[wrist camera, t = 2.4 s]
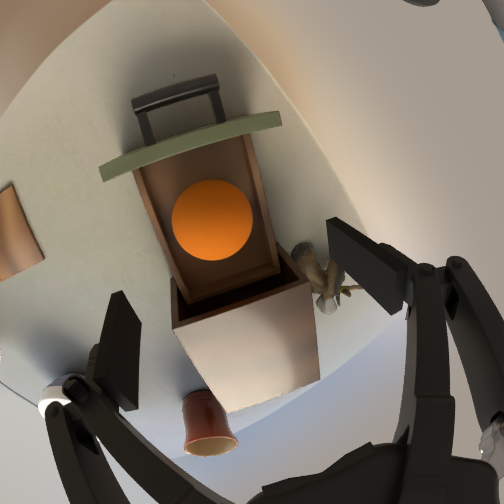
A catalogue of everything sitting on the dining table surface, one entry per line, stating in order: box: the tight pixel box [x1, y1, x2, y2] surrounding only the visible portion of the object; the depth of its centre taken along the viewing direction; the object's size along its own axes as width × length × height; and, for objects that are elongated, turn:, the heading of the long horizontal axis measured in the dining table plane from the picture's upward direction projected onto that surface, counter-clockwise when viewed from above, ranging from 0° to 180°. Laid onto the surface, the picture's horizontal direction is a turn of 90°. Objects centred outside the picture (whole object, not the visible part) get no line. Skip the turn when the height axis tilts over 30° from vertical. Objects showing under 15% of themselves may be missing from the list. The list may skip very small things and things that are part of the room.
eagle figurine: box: [291, 243, 363, 315], centre depth 34 cm, size 8×7×9 cm
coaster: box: [0, 185, 45, 282], centre depth 22 cm, size 10×10×1 cm
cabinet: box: [170, 242, 320, 413], centre depth 32 cm, size 18×14×9 cm
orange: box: [172, 179, 253, 260], centre depth 24 cm, size 7×7×7 cm
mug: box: [182, 391, 238, 457], centre depth 39 cm, size 12×9×10 cm
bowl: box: [38, 373, 100, 442], centre depth 32 cm, size 14×14×8 cm
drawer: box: [98, 74, 282, 305], centre depth 24 cm, size 22×14×9 cm, turn 13°
